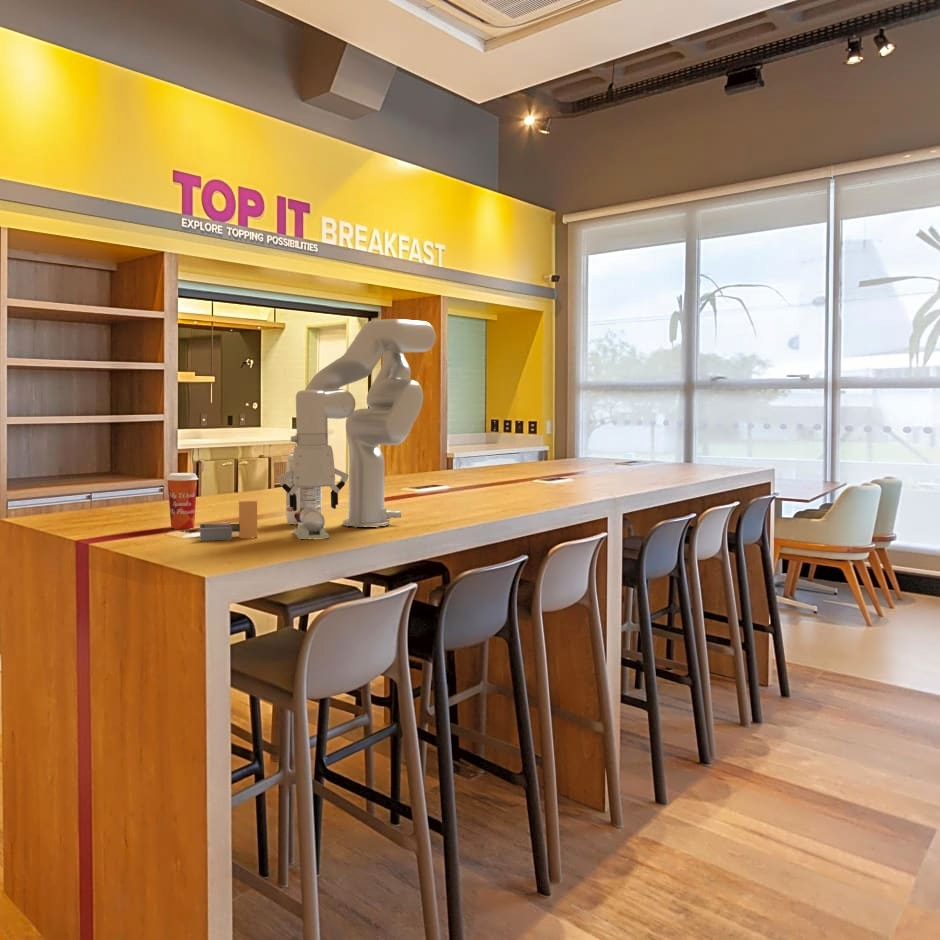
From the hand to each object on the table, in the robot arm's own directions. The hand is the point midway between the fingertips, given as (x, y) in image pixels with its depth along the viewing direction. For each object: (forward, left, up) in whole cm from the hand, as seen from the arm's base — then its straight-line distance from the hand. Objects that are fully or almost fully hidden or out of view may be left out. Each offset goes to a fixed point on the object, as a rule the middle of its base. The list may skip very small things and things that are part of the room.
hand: (314, 509), depth 196 cm
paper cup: (+31, -19, -7) cm, 37 cm away
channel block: (+23, -1, -7) cm, 24 cm away
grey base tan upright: (+20, -1, -7) cm, 21 cm away
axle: (+1, +2, -5) cm, 5 cm away
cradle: (+1, +1, -7) cm, 7 cm away
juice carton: (0, -20, -7) cm, 21 cm away
